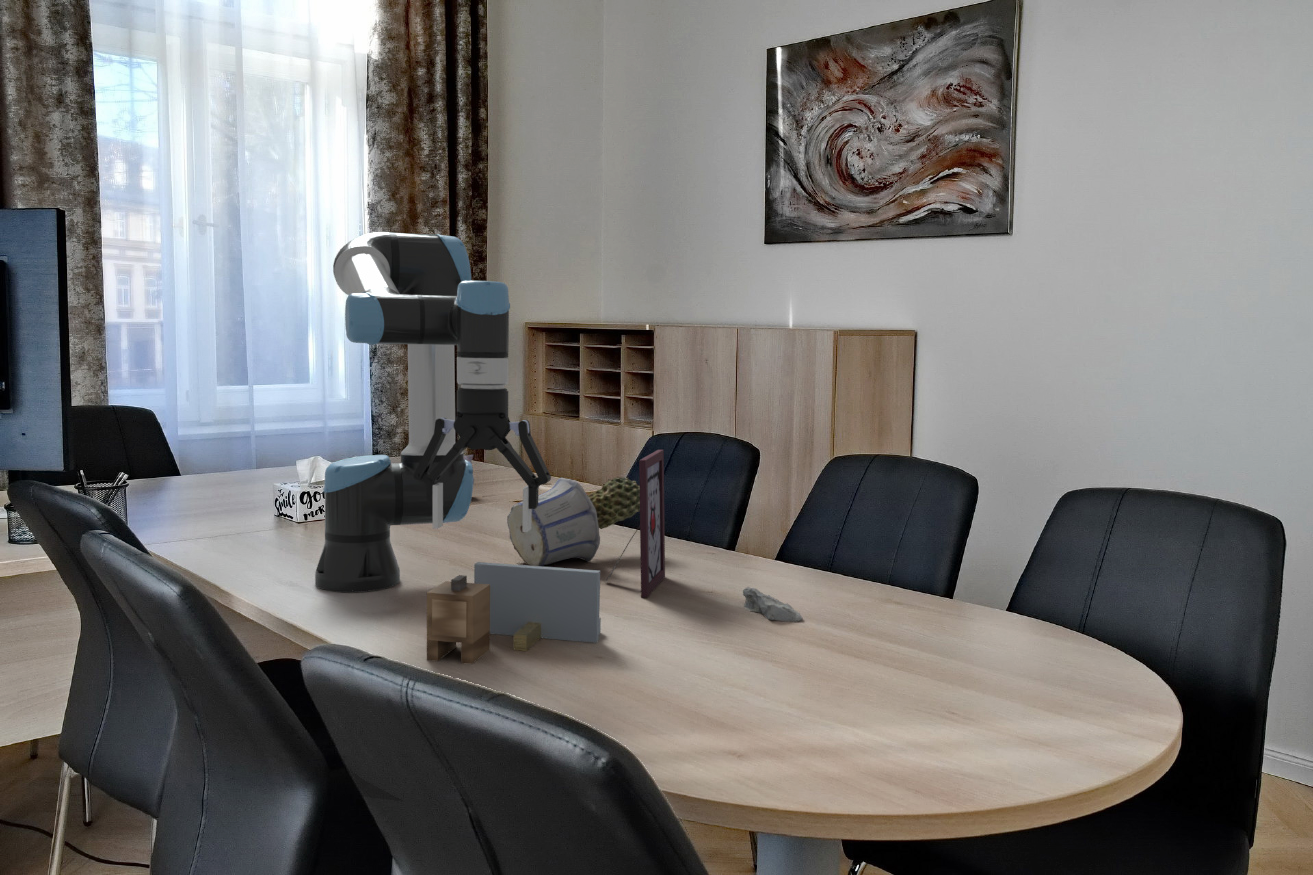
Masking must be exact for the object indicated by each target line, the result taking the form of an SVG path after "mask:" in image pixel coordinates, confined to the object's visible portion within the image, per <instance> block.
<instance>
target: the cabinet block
mask: <svg viewBox="0 0 1313 875" xmlns="http://www.w3.org/2000/svg"><path fill="white" fill-rule="evenodd" d="M467 580H468V576H467V575H465V574H463V575H462V574H458V575H457V576H455V577H454V578H451V579H450V581H448V580H446V581H444V582H442V583H441V584H440V583H439V585H437V586H435V587H434V588H432V589H430V590H428V591H426V661H433V662H439V661H440V660H441V659H442V658H444V657H445V656H446V655H448V654H449V653H450V652H452V651H453V650H454V649H455V648H457V643H458V644H459V643H460V646H461V647H460V648H461V649H460V652H461V654H460V658H461V660H460V663H461V664H467V665H473V664H474V663H476V662H477V661H478V660H480V658H482V657H483V656H484V655H485V654H486V653H488V652H489V651H490V650H491V647H490V646H491V643H490V642H491V641H490V640H491V634H490V585H489V584H476V583H474V582H467Z"/></svg>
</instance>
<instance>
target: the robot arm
mask: <svg viewBox="0 0 1313 875" xmlns="http://www.w3.org/2000/svg"><path fill="white" fill-rule="evenodd" d="M469 258H470V257H469V254H468V252H467V249H466V246H465V244H464V243H463V241H462V240H461V239H460V238H458V237H457V236H451V235H442V234H439V233H434V234H433V233H411V232H410V233H404V232H388V231H377V232H370V233H365V234H362V235H360V236H358V237H356V238H353V239H352V240H350V241H348V242H347V243H346V244H345V245H343V246H342V247H341V248H339V251H337V253H336V256H335V258H334V261H333V264H332V266H333V268H332V269H333V270H332V271H333V276H334V279H335V282H336V284H337V287H339V289H340V290H341V291H342V292H343V293H344V294H345V295H347V297H346V301H345V309H344V319H345V320H344V322H345V323H344V324H345V332H346V338H347V339H348V340H349V341H350V342H351V343H353V344H354V343H355V344H356V343H358V344H367V345H371V346H374V345H407V368H408V369H407V383H408V384H407V385H408V386H407V388H408V389H407V393H408V444H407V446H406V447H404V449H403V450H401V452H400V462H392V460H391V458H390V457H389V455H386V454H375V455H372V454H370V455H361V456H359V455H358V456H353V457H348V458H344V459H341V460H337V461H334V462H332V463H331V464H329V465H328V466H327V467H326V468H325V471H324V485H323V488H322V491H323V493H324V544H323V548H322V551H321V554H320V556H319V560H318V562H317V563H318V564H317V566H316V569H315V571H314V572H315V574H314V577H315V578H314V581H315V582H314V585H315V586H316V587H317V588H319V589H322V590H326V591H330V592H338V593H339V592H340V593H356V592H357V593H358V592H359V593H362V592H371V591H372V592H373V591H379V590H383V589H384V590H385V589H387V588H391V587H393V586H396V585H397V584H399V583H400V581H401V570H400V567H399V563H398V560H397V557H396V554H395V551H394V549H393V547H392V546H393V545H392V543H391V526H407V525H426V524H427V525H428V524H430V525H431V524H432V529H436V530H438V529H440V528H441V527H443V526H444V524H445V523H456V522H460V521H462V520H463V519H464V518H465V517H466V515H467V514H468V512H469V510H470V509H469V508H470V506H471V502H472V497H473V490H474V484H473V477H474V467H473V463H472V464H471V462H472V461H471V462H469V461H467V460H464V450H466V449H470V451H471V450H472V451H476V450H485V451H493V450H495V449H497V451H499V453H501V455H503V457H504V458H505V459H506V460H507V462H508V463H509V464H510V465H511V467H512V468H513V469H514V470H515V471H516V473H517V474H518V475H519V476H520V477H521V479H522V480H523V481H524V483H525V484H526V486H524V487H523V488H522V501H523V532H528V531H529V530H531V518H532V509H536V508H537V506H538V495H539V490H540V489H539V488H540V486H542V485H546V484H548V483H549V482H550V481H551V480H552V476H551V473H550V472H549V469H548V468H547V466H546V463H545V461H544V459H543V457H542V455H541V453H540V450H539V449H538V446H537V444H536V443H535V440H534V438H533V436H532V433H531V432H532V431H531V422H530V421H529V420H528V419H523V420H520V421H510V418H509V390H508V389H507V388H505V386H506V385H508V384H509V375H510V374H509V373H510V372H509V368H510V367H509V336H510V335H509V332H510V331H509V329H510V324H509V323H510V310H511V303H510V298H509V297H510V296H509V287H508V285H507V284H506V283H505V282H502V281H493V280H492V281H491V280H472V273H471V272H472V271H471V265H470V263H471V262H470V259H469ZM455 346H456V347H457V348H456V349H457V351H456V352H457V353H456V356H457V357H456V369H455ZM455 371H456V374H455ZM455 375H456V377H455ZM455 378H456V380H455ZM455 382H457V384H458V385H461V386H460V387H459V388H457V390H456V389H455V388H456V387H455V386H456V385H455ZM455 391H456V392H455ZM511 431H513V432H514V434H515V435H516V436H518V437H519V440H520V442H521V444H522V446H523V449H524V450H525V453H526V455H527V457H528V459H529V461H530V463H531V465H532V467H533V469H534V471H535V474H534V472H533V471H532V469H531V468H530V467H529V466H528V464H526V462H525V461H524V460H523V458H521V456H520V455H519V454H518V452H517V451H516V450H515V449H514V447H513V444H511V443H510V441H509V440H508V438H507V436H508V434H509V433H510V432H511ZM456 433H457V435H458V437H459V438H458V439H457V441H456Z"/></svg>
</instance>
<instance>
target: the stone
mask: <svg viewBox="0 0 1313 875" xmlns="http://www.w3.org/2000/svg"><path fill="white" fill-rule="evenodd" d="M742 595H743V597H744V598H745V600H744V604H743V607H744V608H745V610H748V611H750V612H754V613H759V614H762V615H763V616H764V617H765V618H766V619H768V620H772V621H782V622H795V623H796V622H799V621H802V620H804V618H803V617H802V615H801V613H800V612H798V611H797V610H795V609H794V608H793V607H792V605H790V604H788V603H785V602H782V601H780V600H779V599H777V598H775V597H773V596H771V595H770V594H765V593H763V592H761V591H760V590H758V589H757V588H755V587H751V586H747V587H745V588H744V589H742Z"/></svg>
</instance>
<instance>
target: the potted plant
mask: <svg viewBox="0 0 1313 875" xmlns="http://www.w3.org/2000/svg"><path fill="white" fill-rule="evenodd" d="M637 512H638V513H639V512H640V484H637V481H636V480H631V479H629V478H628V477H619V476H616V477H614V478H613V479H612V478H611V479H610V478H608V480H607V481H606V482H605V483H603V484H602V486H601V488H599V489H597V490H595V491H593V492H591V493H589V494H587V492H586V491H585V489H584V487H583V486H582V485H581V483H579V481H577V480H574V479H572V478H565V477H560V478H558V479H557V480H556V482H555V483H554V484H553V486H552V487H551V488H550V489H549V490H547V491H545V492H543V493H541V494H538V506H537V508H536V509H532V518H531V530H529V531H528V532H523V500H521V501H519V502H517V503H515V504H514V505H513V506H512V507H511V509H510V512H509V513H508V514H507V519H506V520H507V522H506V523H507V527H508V532H509V539H510V541H511V543H512V544H511V545H512V546H513V549H514V550H515V551H516V553H517V554H518V555H519V558H521V559H522V561H523V562H524V563H525V565H528V566H542V567H545V566H547V565H551V564H553V563H554V564H555V563H556V562H560V561H564V560H568V559H571V558H572V559H573V558H574V559H575V558H578V559H582V560H583V561H586V562H592V560H593V559H594V557H595V555H596V554H597V551H598V550H599V547H600V544H601V535H600V530H603V529H607V528H609V527H610V526H612V525H614V524H616V523H617V522H621V521H625V520H626V519H629V518H632V517H633V516H635V515H636V513H637Z"/></svg>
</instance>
